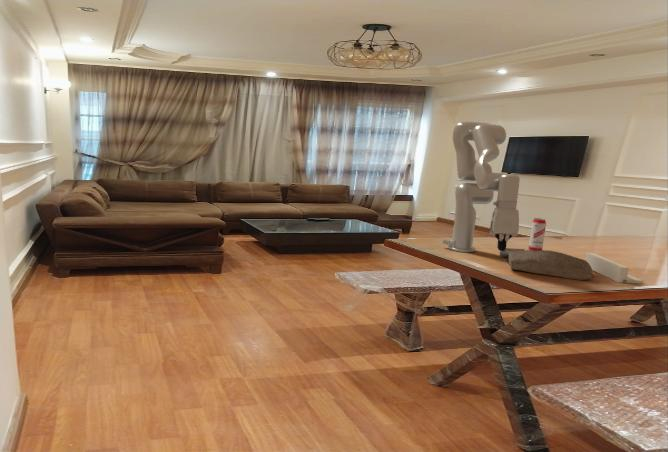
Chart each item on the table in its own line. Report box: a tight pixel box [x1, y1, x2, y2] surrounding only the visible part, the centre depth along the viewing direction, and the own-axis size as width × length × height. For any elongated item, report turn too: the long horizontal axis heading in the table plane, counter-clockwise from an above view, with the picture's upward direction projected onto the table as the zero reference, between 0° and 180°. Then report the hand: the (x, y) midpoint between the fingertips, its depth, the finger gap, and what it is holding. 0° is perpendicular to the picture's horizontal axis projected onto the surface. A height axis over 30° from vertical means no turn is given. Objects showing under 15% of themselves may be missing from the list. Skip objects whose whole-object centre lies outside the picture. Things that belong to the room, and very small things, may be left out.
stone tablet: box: [507, 249, 594, 281], centre depth 184 cm, size 20×8×30 cm
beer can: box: [528, 217, 547, 250], centre depth 221 cm, size 6×6×16 cm
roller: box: [499, 247, 526, 259], centre depth 203 cm, size 10×4×4 cm
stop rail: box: [584, 252, 644, 285], centre depth 185 cm, size 10×24×6 cm, turn 0°
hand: (501, 250), depth 182 cm, fingers closed
